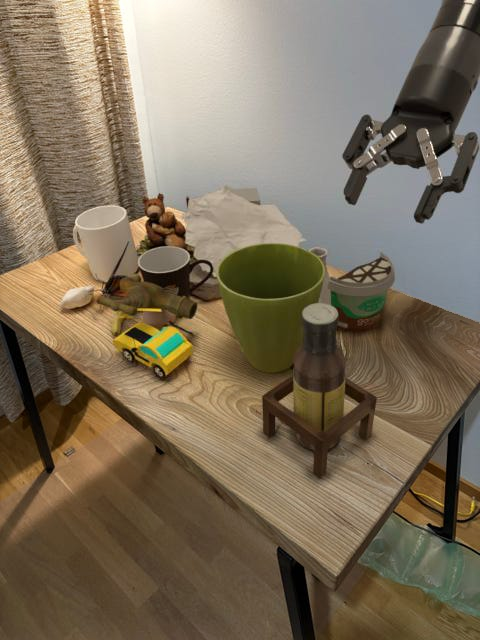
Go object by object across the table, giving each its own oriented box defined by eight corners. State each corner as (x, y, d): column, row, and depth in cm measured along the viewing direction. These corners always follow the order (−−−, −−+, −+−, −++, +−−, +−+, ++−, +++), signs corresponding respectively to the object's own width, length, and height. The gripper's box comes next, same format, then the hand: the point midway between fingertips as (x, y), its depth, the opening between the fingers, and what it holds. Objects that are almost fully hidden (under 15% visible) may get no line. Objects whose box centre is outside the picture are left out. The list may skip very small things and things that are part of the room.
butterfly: (69, 276, 89) (120, 259, 86) (88, 246, 97) (135, 230, 93) (107, 330, 95) (155, 316, 92) (122, 299, 103) (167, 285, 100)
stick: (194, 324, 88) (195, 336, 88) (192, 324, 88) (193, 336, 88) (170, 320, 83) (170, 332, 83) (167, 320, 83) (168, 333, 83)
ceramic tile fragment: (210, 308, 93) (245, 284, 99) (208, 292, 91) (245, 269, 98) (162, 289, 100) (198, 267, 106) (159, 273, 98) (197, 252, 104)
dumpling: (75, 319, 93) (64, 302, 91) (61, 313, 97) (50, 296, 95) (106, 296, 96) (95, 278, 94) (91, 290, 100) (81, 273, 98)
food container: (352, 347, 84) (357, 294, 78) (324, 328, 88) (327, 277, 82) (404, 317, 89) (413, 266, 83) (376, 301, 93) (383, 251, 87)
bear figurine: (133, 278, 103) (122, 221, 95) (139, 241, 115) (129, 187, 107) (204, 272, 103) (199, 215, 96) (202, 236, 115) (197, 182, 108)
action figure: (210, 292, 86) (164, 309, 72) (205, 316, 87) (159, 338, 74) (133, 266, 90) (76, 278, 77) (129, 290, 91) (72, 306, 78)
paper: (169, 185, 99) (188, 287, 95) (180, 169, 93) (200, 276, 90) (279, 188, 109) (300, 280, 106) (294, 174, 104) (316, 270, 100)
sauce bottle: (338, 416, 73) (349, 294, 61) (344, 452, 68) (358, 328, 56) (290, 417, 73) (292, 296, 61) (293, 454, 68) (296, 330, 56)
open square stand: (371, 435, 70) (377, 397, 65) (319, 479, 65) (322, 441, 60) (314, 395, 76) (316, 358, 72) (263, 433, 71) (261, 395, 67)
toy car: (199, 358, 83) (194, 315, 78) (164, 387, 78) (156, 343, 73) (145, 331, 89) (136, 290, 84) (110, 356, 84) (99, 314, 79)
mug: (135, 282, 101) (120, 227, 94) (74, 286, 102) (54, 232, 95) (144, 256, 109) (131, 203, 101) (87, 260, 110) (70, 208, 103)
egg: (157, 314, 93) (135, 334, 88) (156, 289, 90) (133, 307, 85) (183, 322, 92) (162, 342, 86) (182, 296, 89) (161, 315, 84)
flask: (287, 305, 94) (287, 255, 88) (308, 285, 98) (309, 237, 92) (324, 318, 90) (327, 267, 84) (343, 297, 95) (348, 247, 89)
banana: (117, 301, 94) (139, 300, 93) (120, 309, 95) (141, 308, 94) (104, 331, 88) (128, 330, 87) (107, 339, 89) (131, 338, 88)
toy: (263, 212, 102) (255, 181, 114) (223, 215, 101) (219, 184, 113) (264, 256, 108) (257, 222, 119) (227, 259, 107) (223, 225, 119)
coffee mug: (139, 320, 92) (129, 270, 86) (157, 292, 98) (149, 244, 92) (204, 327, 89) (198, 276, 83) (217, 298, 96) (213, 249, 90)
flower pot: (215, 335, 88) (207, 250, 78) (302, 320, 90) (305, 235, 80) (234, 399, 76) (227, 307, 66) (333, 380, 78) (341, 289, 69)
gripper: (375, 55, 62) (317, 183, 62) (503, 68, 54) (437, 213, 54) (390, 93, 68) (338, 209, 68) (506, 109, 61) (448, 239, 61)
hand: (382, 211), depth 61 cm, fingers open, 8 cm apart
